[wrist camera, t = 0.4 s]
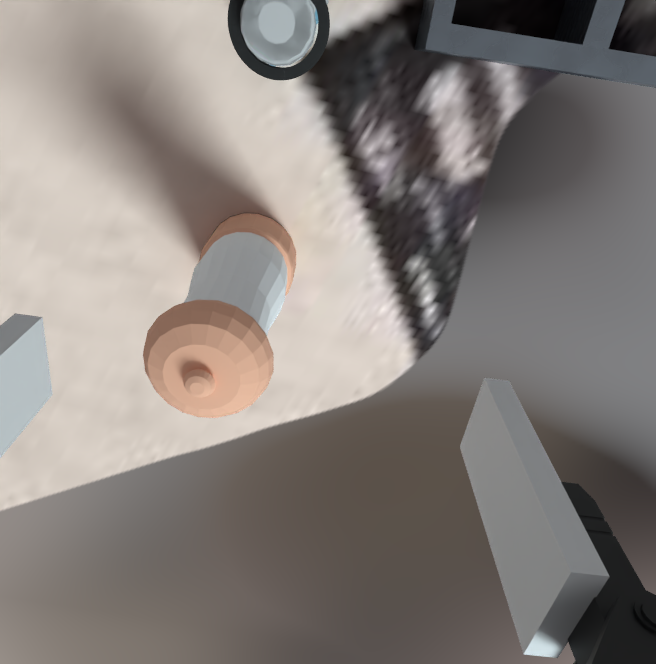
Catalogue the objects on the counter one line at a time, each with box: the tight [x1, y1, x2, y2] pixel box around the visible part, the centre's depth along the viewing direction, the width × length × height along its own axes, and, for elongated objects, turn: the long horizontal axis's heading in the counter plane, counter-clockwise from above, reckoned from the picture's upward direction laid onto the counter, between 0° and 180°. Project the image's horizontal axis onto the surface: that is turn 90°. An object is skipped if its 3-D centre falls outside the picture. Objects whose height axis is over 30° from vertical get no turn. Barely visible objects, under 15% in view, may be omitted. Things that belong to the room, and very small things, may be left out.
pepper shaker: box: [143, 213, 296, 418], centre depth 34 cm, size 7×7×19 cm
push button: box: [228, 0, 330, 80], centre depth 30 cm, size 7×5×10 cm
